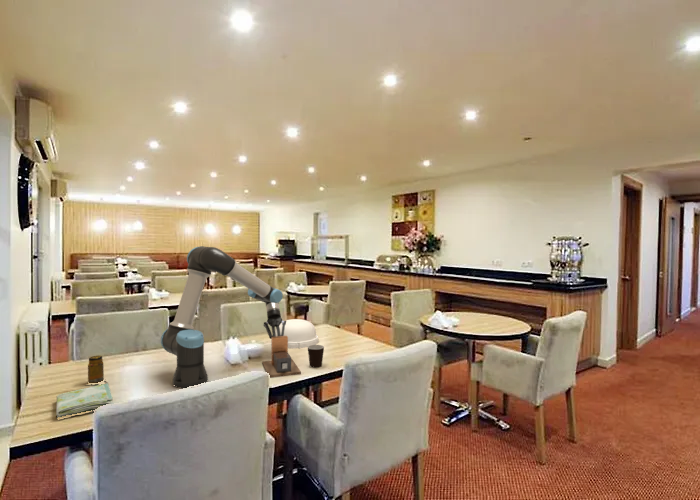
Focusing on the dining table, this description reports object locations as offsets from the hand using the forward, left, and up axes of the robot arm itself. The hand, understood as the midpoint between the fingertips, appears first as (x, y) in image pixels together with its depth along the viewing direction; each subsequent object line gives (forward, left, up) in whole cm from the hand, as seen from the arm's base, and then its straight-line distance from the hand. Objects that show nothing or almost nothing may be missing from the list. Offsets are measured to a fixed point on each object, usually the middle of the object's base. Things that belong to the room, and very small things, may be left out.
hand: (278, 349), depth 212 cm
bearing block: (0, -13, -7) cm, 14 cm away
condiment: (-83, -1, -8) cm, 84 cm away
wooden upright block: (0, -12, -6) cm, 13 cm away
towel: (-82, -27, -8) cm, 87 cm away
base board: (0, -9, -8) cm, 12 cm away
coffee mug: (+19, -9, -8) cm, 22 cm away
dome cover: (+18, +39, -8) cm, 44 cm away
